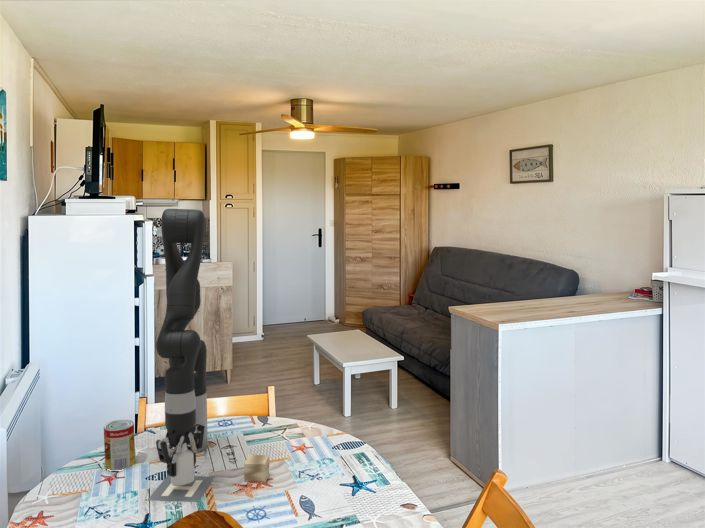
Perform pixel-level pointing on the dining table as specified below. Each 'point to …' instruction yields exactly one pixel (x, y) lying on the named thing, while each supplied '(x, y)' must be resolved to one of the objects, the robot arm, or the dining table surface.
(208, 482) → the letter board
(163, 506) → the dining table surface
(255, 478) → the maple block
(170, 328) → the robot arm
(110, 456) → the canned food
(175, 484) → the eye dropper bottle
